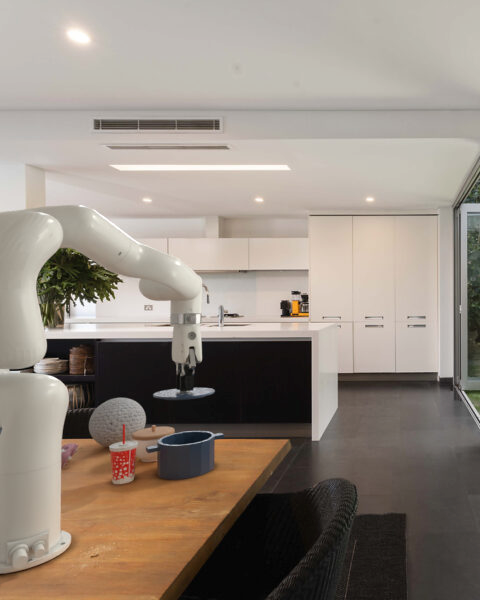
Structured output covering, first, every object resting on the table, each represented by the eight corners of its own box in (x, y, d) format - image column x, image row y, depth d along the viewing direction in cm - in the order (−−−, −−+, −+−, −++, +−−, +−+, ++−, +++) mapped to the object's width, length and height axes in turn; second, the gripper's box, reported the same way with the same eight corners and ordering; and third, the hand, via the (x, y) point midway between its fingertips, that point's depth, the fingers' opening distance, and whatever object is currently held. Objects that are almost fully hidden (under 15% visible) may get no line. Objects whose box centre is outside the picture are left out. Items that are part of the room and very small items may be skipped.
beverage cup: (129, 474, 116) (129, 420, 116) (142, 478, 113) (143, 423, 113) (103, 482, 111) (104, 425, 111) (116, 487, 108) (117, 429, 108)
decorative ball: (139, 436, 150) (139, 391, 150) (151, 446, 139) (151, 398, 139) (85, 446, 140) (85, 397, 140) (92, 457, 129) (93, 405, 129)
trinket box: (182, 453, 133) (182, 421, 133) (158, 465, 122) (159, 431, 123) (148, 451, 134) (148, 420, 134) (122, 464, 124) (122, 430, 124)
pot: (232, 467, 121) (232, 436, 121) (154, 487, 108) (154, 451, 108) (213, 455, 131) (213, 426, 131) (139, 471, 118) (140, 439, 118)
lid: (223, 396, 118) (223, 373, 118) (162, 404, 108) (163, 378, 108) (203, 389, 129) (203, 368, 129) (146, 395, 119) (147, 372, 119)
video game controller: (58, 478, 118) (73, 452, 119) (39, 472, 116) (54, 446, 117) (70, 465, 127) (84, 442, 128) (53, 460, 125) (67, 436, 127)
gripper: (211, 320, 116) (210, 392, 115) (190, 320, 128) (189, 385, 127) (180, 321, 111) (179, 395, 110) (161, 320, 122) (160, 388, 122)
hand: (184, 389), depth 119 cm, fingers closed on lid, 2 cm apart
